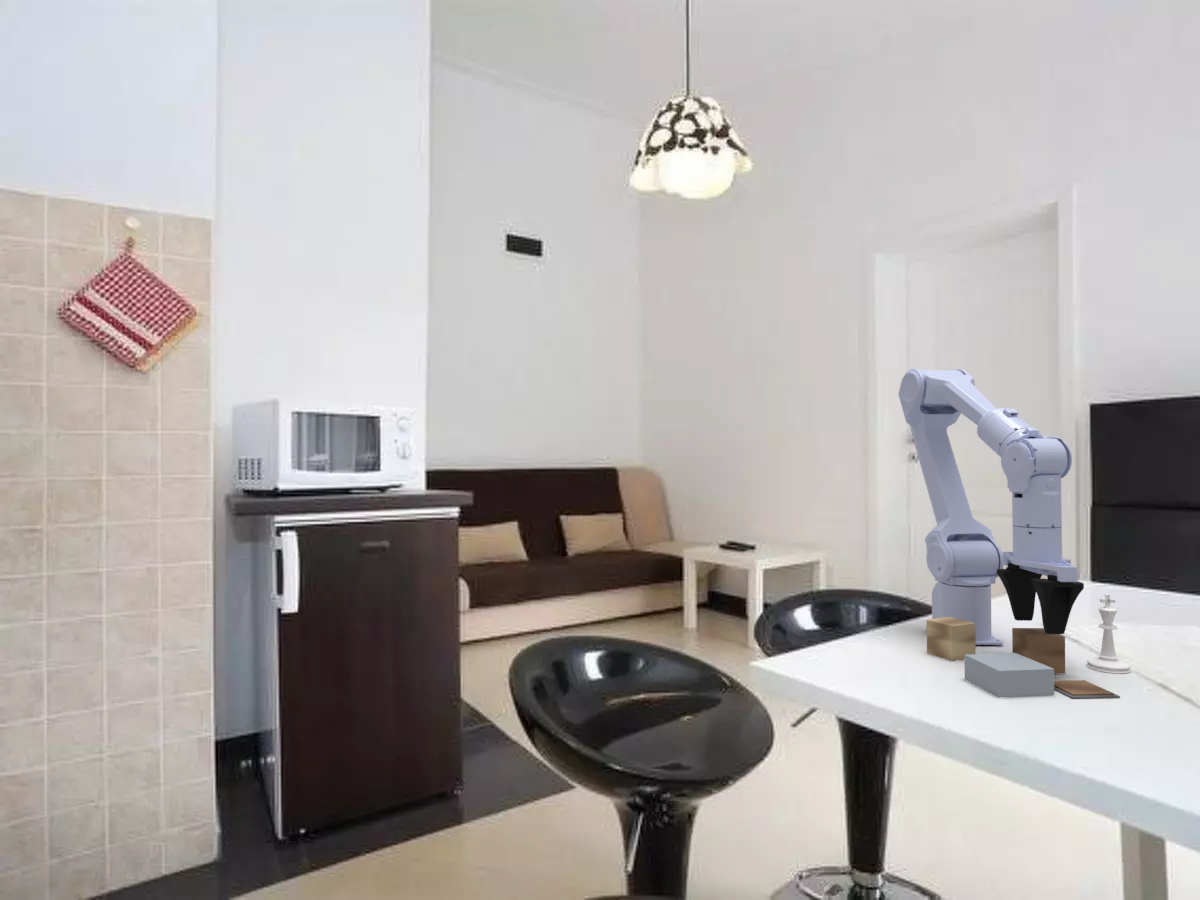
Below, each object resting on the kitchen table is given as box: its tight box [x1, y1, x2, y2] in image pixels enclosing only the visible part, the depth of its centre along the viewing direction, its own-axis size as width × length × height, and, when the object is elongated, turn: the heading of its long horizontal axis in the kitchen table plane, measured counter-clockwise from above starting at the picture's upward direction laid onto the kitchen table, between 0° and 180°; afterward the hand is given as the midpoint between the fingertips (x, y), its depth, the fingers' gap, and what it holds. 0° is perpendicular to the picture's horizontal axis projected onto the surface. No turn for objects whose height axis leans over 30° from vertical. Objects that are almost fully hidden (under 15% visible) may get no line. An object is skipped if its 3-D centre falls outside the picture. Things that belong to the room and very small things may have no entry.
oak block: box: [926, 617, 977, 662], centre depth 103 cm, size 4×4×5 cm
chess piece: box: [1085, 593, 1132, 675], centre depth 97 cm, size 5×5×10 cm
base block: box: [964, 652, 1055, 699], centre depth 89 cm, size 7×7×4 cm
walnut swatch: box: [1054, 679, 1121, 700], centre depth 88 cm, size 6×6×1 cm
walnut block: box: [1011, 627, 1066, 675], centre depth 97 cm, size 4×4×5 cm
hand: (1038, 626), depth 97 cm, fingers open, 7 cm apart
